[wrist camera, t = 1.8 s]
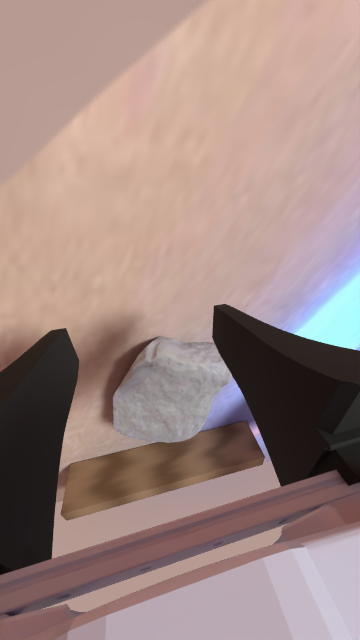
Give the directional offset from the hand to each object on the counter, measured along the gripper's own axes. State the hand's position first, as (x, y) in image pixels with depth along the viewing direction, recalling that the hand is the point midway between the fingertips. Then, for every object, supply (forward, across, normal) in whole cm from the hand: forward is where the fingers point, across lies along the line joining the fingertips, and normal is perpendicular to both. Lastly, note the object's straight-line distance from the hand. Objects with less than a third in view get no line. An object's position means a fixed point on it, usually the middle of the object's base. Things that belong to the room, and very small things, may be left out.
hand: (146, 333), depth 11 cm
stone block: (+8, -1, +12) cm, 14 cm away
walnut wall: (+7, 0, +24) cm, 25 cm away
